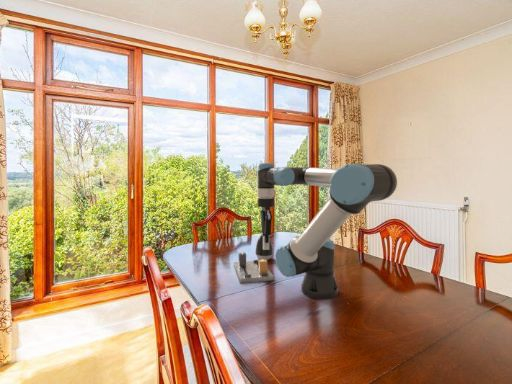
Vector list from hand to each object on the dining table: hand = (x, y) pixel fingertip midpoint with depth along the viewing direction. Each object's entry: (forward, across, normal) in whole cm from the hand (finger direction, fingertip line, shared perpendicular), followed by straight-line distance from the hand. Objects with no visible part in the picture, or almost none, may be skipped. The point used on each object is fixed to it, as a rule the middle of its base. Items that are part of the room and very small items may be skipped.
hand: (266, 249), depth 129 cm
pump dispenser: (+16, +34, -7) cm, 38 cm away
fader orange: (+14, +7, 0) cm, 16 cm away
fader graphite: (+14, +21, +8) cm, 27 cm away
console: (+16, +14, +4) cm, 22 cm away
